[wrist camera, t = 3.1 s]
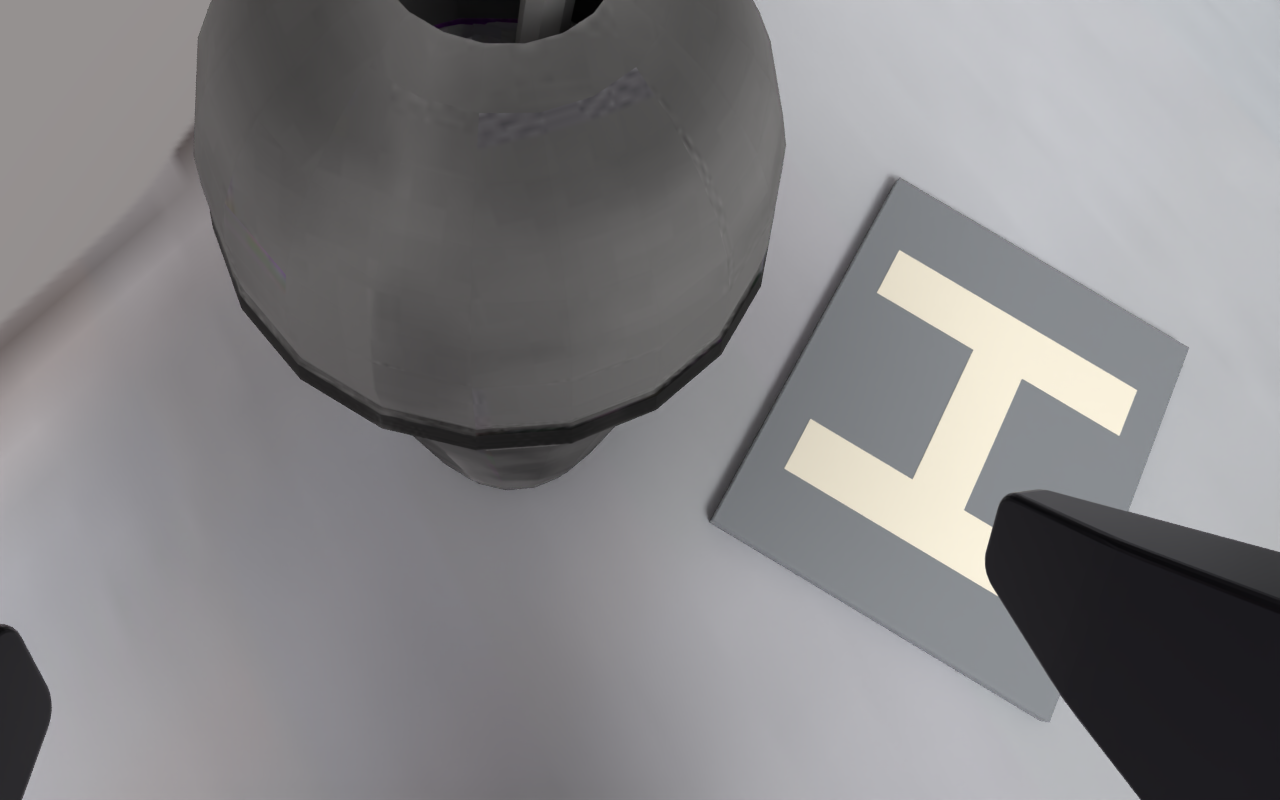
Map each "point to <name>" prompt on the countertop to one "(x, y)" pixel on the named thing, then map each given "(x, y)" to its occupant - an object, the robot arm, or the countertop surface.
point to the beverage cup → (492, 206)
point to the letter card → (947, 431)
